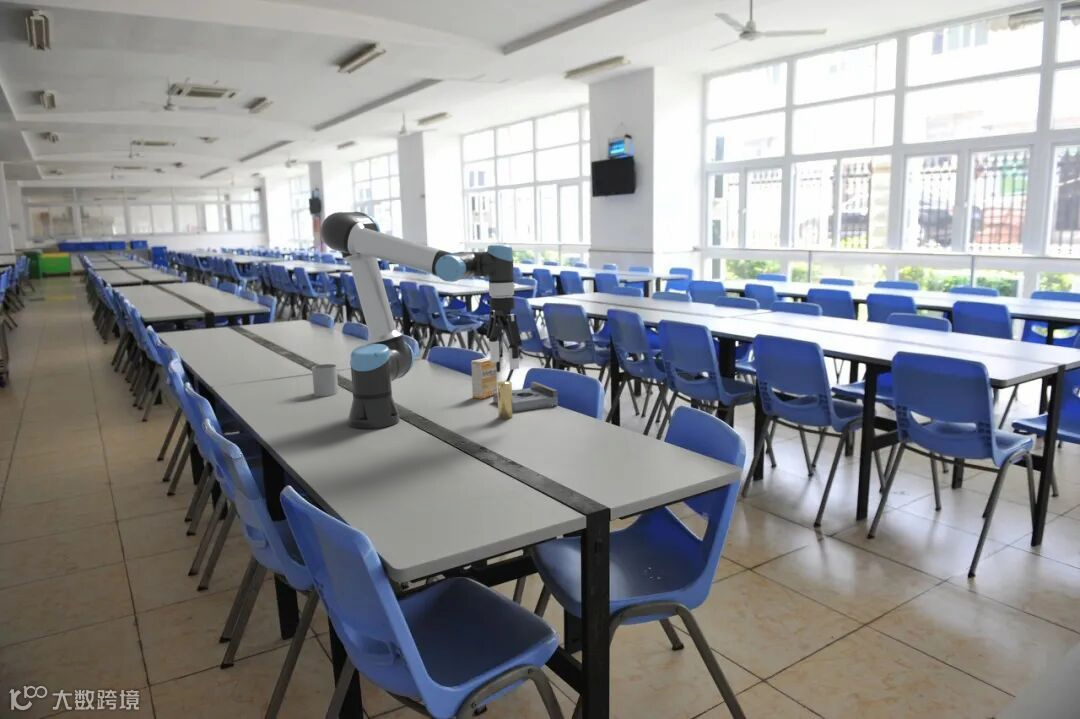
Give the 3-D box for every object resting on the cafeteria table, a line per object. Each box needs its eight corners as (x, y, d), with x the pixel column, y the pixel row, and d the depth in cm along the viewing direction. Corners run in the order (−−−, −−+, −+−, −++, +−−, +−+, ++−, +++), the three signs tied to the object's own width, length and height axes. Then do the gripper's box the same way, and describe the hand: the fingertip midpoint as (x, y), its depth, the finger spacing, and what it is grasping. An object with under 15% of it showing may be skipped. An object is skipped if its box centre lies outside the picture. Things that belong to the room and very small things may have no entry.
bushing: (502, 419, 230) (501, 384, 228) (496, 416, 234) (495, 382, 232) (514, 417, 232) (514, 383, 230) (508, 414, 236) (507, 380, 234)
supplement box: (482, 399, 256) (481, 361, 254) (472, 397, 259) (470, 360, 257) (498, 394, 263) (496, 358, 260) (487, 392, 265) (486, 356, 263)
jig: (514, 412, 239) (513, 396, 238) (493, 401, 253) (492, 387, 252) (557, 405, 246) (557, 390, 245) (535, 395, 260) (534, 381, 259)
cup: (341, 390, 273) (339, 364, 271) (333, 396, 265) (331, 368, 263) (319, 390, 274) (317, 364, 272) (310, 396, 266) (308, 368, 264)
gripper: (532, 298, 217) (534, 370, 221) (495, 292, 238) (498, 357, 242) (508, 300, 213) (511, 373, 217) (474, 294, 235) (477, 360, 239)
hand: (504, 365), depth 230 cm, fingers open, 13 cm apart
